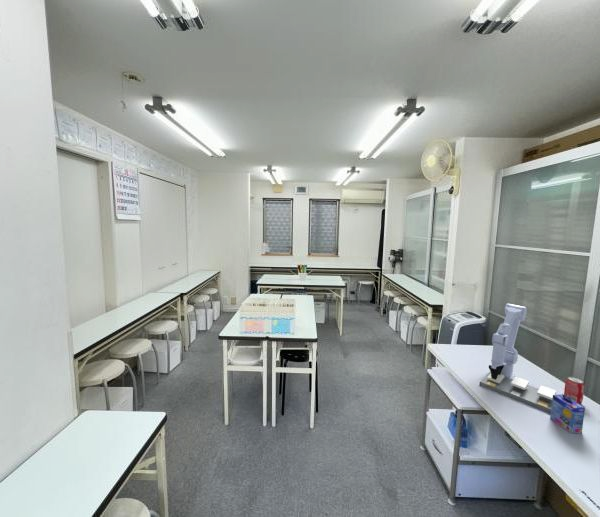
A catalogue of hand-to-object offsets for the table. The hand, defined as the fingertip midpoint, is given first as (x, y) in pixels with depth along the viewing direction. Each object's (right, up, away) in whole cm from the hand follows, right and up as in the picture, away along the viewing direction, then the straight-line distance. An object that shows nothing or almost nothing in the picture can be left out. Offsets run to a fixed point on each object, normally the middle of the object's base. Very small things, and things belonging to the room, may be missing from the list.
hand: (495, 376), depth 158 cm
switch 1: (0, -1, 0) cm, 1 cm away
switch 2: (+7, -1, -8) cm, 11 cm away
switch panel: (+6, -5, -8) cm, 12 cm away
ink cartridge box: (+8, -8, -33) cm, 35 cm away
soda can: (+29, -7, -15) cm, 33 cm away
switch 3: (+14, -2, -17) cm, 22 cm away
